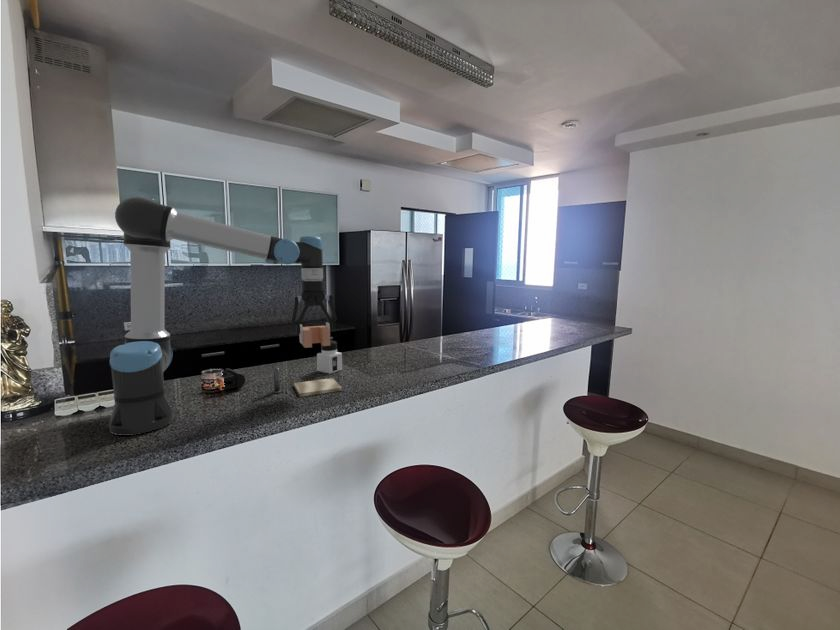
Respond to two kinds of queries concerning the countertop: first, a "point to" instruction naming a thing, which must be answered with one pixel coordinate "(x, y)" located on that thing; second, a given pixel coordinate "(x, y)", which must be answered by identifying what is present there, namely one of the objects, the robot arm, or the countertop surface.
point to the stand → (276, 380)
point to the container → (329, 359)
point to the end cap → (232, 380)
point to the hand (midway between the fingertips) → (315, 341)
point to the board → (317, 387)
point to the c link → (316, 336)
